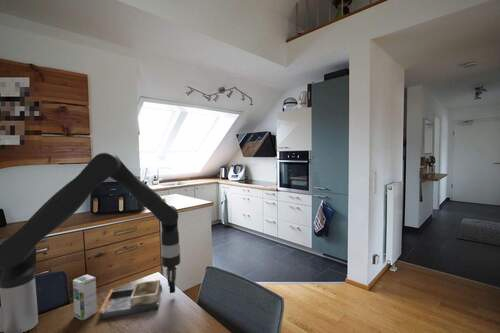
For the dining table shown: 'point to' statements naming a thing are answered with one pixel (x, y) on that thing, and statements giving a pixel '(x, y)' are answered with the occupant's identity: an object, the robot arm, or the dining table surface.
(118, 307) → the bay
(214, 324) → the dining table surface
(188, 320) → the dining table surface
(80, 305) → the syrup box
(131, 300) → the box
